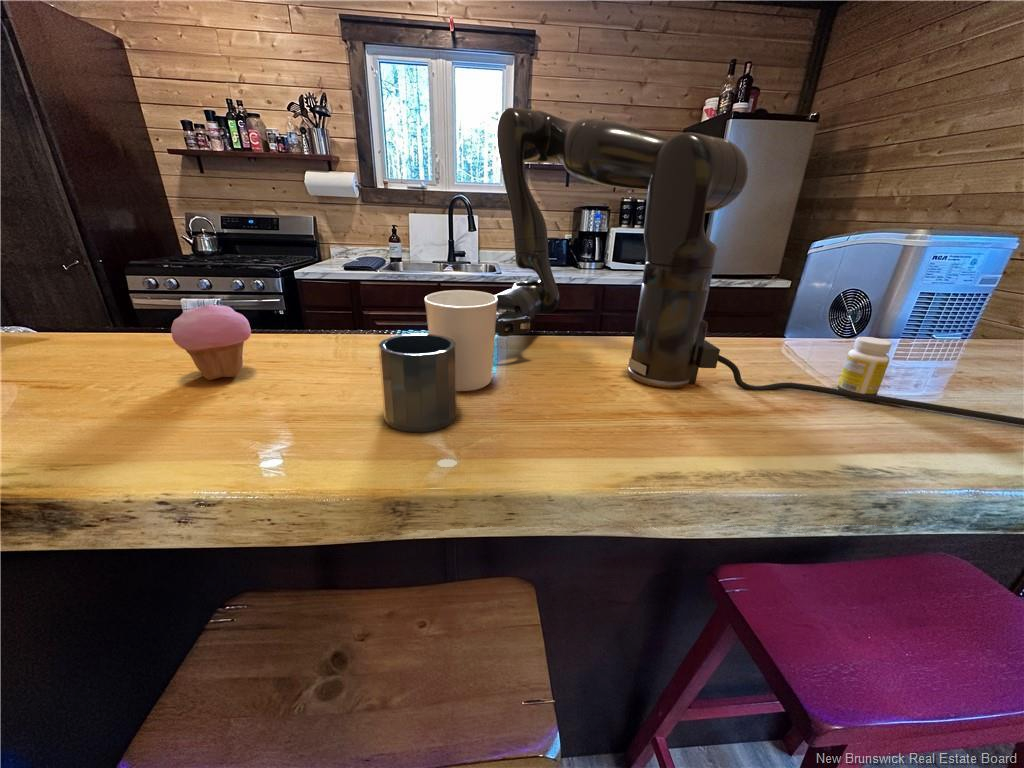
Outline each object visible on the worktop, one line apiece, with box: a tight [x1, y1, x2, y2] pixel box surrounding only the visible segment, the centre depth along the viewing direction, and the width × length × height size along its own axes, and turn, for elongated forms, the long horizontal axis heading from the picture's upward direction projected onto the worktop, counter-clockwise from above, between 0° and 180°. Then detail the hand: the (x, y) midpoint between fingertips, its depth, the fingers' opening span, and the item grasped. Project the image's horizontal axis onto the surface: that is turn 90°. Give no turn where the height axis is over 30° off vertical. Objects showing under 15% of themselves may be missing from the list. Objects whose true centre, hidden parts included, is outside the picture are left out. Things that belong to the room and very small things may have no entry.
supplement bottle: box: [836, 336, 893, 401], centre depth 63 cm, size 5×5×8 cm
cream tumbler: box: [423, 289, 498, 392], centre depth 61 cm, size 10×10×12 cm
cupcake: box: [170, 304, 252, 381], centre depth 59 cm, size 9×9×10 cm
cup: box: [378, 333, 458, 433], centre depth 51 cm, size 8×8×9 cm
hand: (473, 333), depth 65 cm, fingers closed
